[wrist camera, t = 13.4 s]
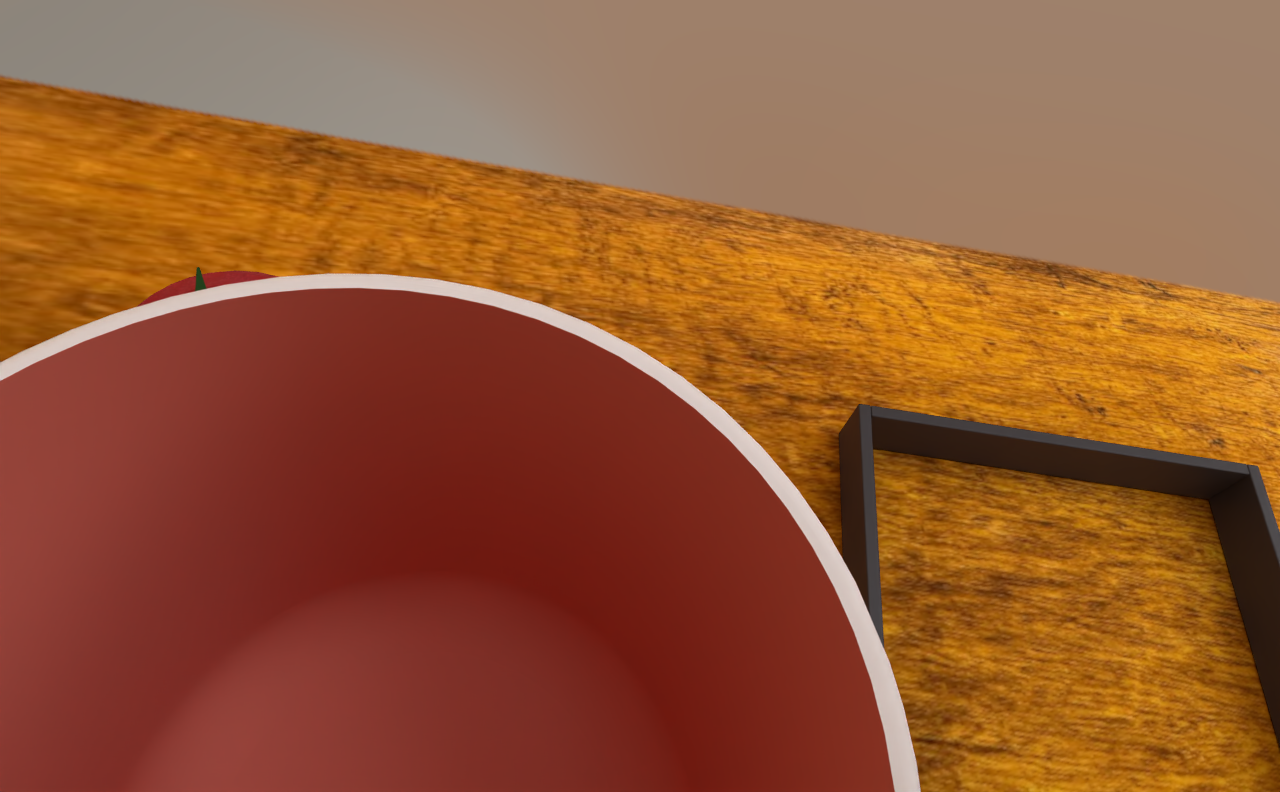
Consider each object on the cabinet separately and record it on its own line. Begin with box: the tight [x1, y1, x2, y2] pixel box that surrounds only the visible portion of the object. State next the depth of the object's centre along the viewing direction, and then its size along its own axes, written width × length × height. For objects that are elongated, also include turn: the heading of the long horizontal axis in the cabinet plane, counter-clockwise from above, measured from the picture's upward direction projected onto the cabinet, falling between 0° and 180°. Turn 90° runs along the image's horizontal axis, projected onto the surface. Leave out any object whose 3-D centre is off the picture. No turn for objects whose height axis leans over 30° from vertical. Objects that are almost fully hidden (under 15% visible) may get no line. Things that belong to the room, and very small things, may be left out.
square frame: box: [839, 404, 1280, 746], centre depth 31 cm, size 17×17×2 cm
